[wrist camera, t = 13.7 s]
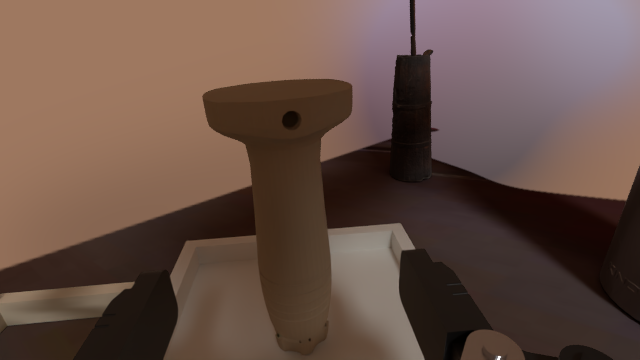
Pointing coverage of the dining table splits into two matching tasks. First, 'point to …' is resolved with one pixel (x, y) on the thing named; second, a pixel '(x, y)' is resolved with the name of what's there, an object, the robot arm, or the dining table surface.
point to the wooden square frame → (57, 304)
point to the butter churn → (411, 114)
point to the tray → (251, 313)
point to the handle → (287, 193)
